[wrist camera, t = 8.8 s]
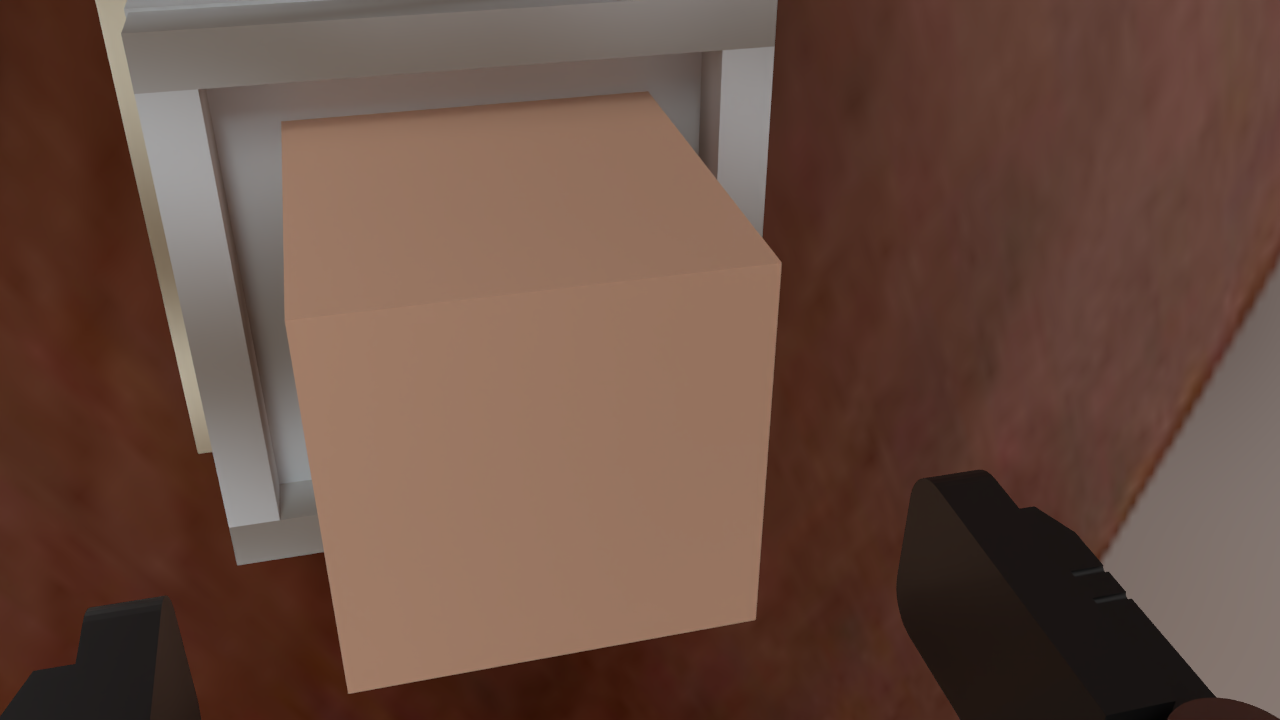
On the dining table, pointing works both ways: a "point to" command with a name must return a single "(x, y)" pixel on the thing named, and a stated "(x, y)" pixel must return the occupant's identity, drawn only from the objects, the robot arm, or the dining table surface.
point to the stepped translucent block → (357, 85)
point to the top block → (525, 380)
